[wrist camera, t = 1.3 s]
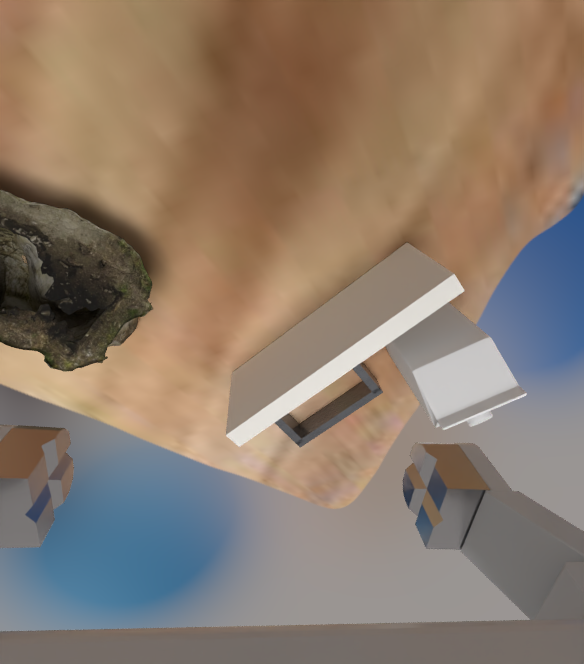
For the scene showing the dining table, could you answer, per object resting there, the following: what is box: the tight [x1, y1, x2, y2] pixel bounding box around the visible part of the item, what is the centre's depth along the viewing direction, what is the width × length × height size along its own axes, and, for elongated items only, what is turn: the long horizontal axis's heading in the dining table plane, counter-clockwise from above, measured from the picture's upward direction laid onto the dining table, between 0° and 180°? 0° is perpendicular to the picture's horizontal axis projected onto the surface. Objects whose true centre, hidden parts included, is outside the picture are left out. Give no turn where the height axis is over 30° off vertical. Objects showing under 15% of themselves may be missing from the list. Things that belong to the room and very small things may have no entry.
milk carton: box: [386, 302, 527, 430], centre depth 41 cm, size 7×7×19 cm
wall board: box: [226, 243, 464, 447], centre depth 43 cm, size 26×2×12 cm, turn 128°
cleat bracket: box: [275, 362, 383, 447], centre depth 51 cm, size 13×10×3 cm
